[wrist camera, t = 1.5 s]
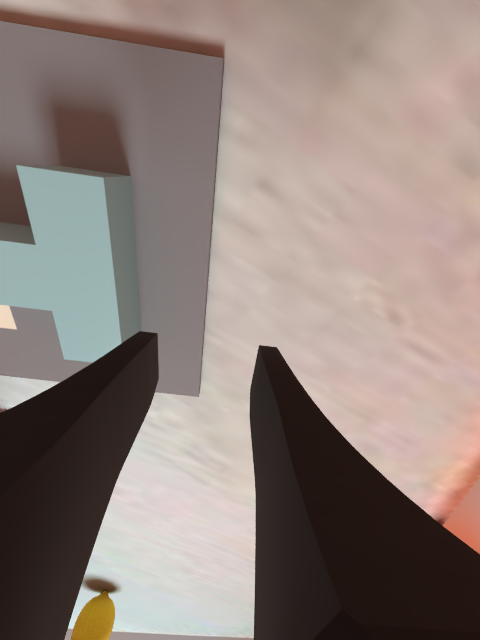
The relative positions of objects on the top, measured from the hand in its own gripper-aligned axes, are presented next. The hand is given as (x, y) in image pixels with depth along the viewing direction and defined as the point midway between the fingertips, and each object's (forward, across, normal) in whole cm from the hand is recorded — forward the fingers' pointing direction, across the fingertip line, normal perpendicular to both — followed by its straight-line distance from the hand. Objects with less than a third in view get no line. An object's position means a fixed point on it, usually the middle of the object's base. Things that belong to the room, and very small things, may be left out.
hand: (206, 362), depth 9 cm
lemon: (+9, +14, +57) cm, 59 cm away
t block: (+8, +10, 0) cm, 13 cm away
